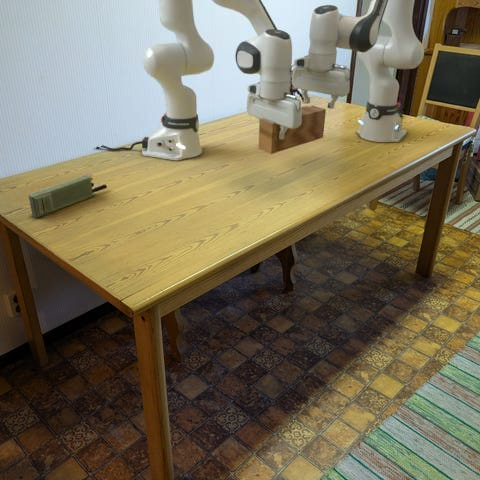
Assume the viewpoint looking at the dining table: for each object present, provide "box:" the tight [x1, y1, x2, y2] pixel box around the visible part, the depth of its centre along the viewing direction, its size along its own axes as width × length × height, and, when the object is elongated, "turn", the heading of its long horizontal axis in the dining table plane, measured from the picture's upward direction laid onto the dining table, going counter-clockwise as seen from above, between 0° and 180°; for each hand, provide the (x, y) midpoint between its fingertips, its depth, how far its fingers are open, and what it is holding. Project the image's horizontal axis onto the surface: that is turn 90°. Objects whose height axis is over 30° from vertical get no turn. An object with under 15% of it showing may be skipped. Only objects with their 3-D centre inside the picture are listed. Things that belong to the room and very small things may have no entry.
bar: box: [258, 105, 327, 155], centre depth 160 cm, size 24×6×10 cm, turn 132°
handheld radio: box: [28, 173, 108, 219], centre depth 150 cm, size 7×3×25 cm
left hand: (272, 135), depth 155 cm, fingers closed on bar, 5 cm apart
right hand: (318, 105), depth 167 cm, fingers open, 8 cm apart
